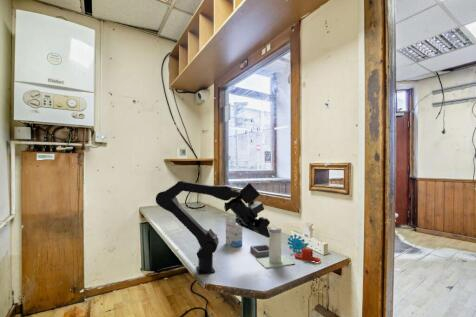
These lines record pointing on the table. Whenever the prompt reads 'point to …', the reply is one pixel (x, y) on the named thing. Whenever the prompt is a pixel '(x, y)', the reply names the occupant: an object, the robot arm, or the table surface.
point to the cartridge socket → (260, 250)
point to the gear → (297, 243)
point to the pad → (268, 264)
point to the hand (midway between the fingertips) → (262, 234)
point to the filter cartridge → (275, 245)
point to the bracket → (307, 255)
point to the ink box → (233, 232)
